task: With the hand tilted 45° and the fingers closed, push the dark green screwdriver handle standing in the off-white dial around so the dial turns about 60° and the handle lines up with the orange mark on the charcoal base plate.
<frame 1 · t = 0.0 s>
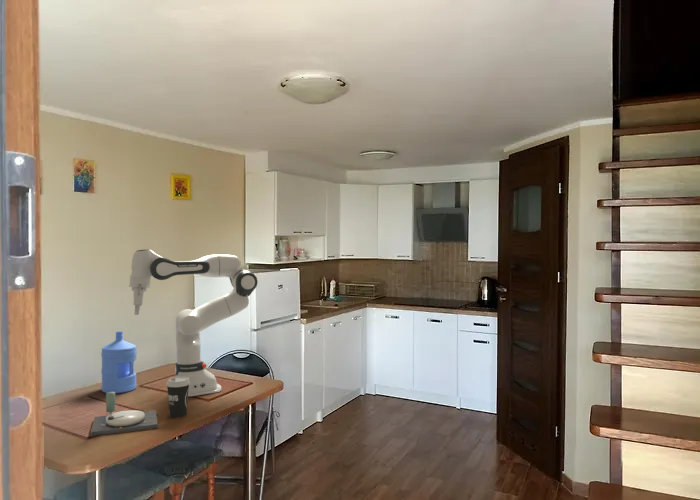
hand: (136, 313, 238), 39 cm above the table, tool pointing down, fingers open, 8 cm apart
coffee cup: (178, 415, 213), on the table
water jug: (119, 389, 251), on the table
dial: (125, 405, 202), point 8 cm above the table, hinge at 0.0°
dial base plate: (125, 424, 202), on the table
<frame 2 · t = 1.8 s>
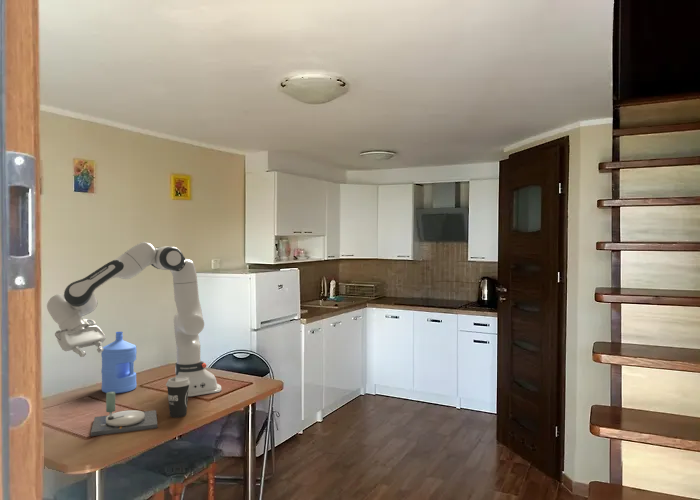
hand: (92, 353, 210), 26 cm above the table, tool tilted 45°, fingers open, 8 cm apart
nothing on the table moved.
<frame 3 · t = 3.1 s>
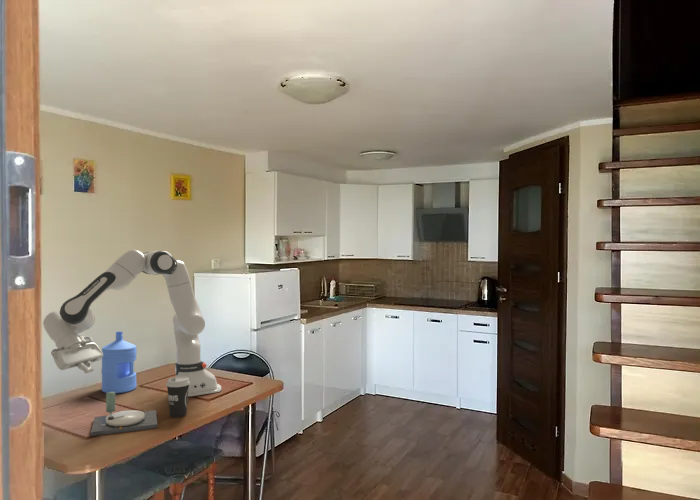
hand: (89, 371, 206), 20 cm above the table, tool tilted 45°, fingers closed
nothing on the table moved.
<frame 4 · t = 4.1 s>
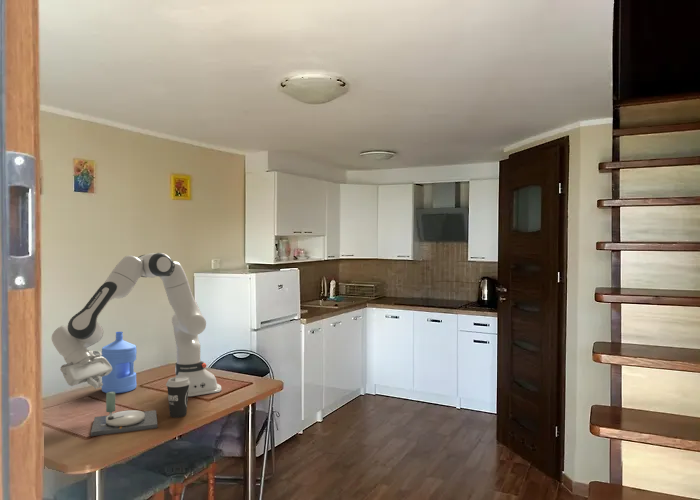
hand: (99, 386, 205), 14 cm above the table, tool tilted 45°, fingers closed
nothing on the table moved.
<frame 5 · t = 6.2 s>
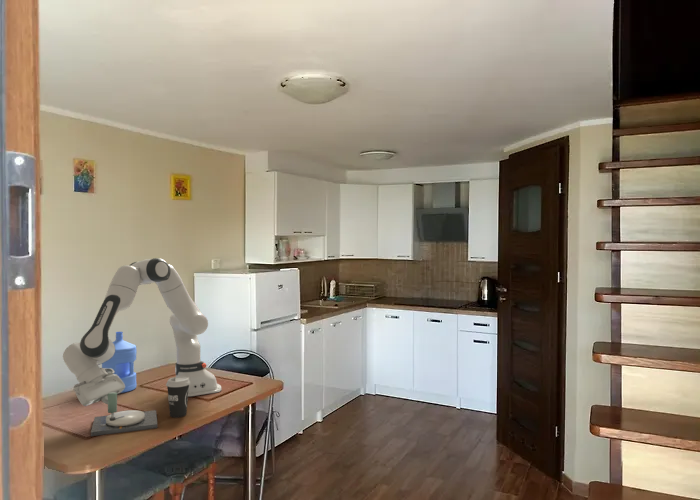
hand: (113, 405, 200), 8 cm above the table, tool tilted 45°, fingers closed, pressing on dial
dial: (125, 405, 202), point 8 cm above the table, hinge at 14.7°, touching gripper
everything else where it was.
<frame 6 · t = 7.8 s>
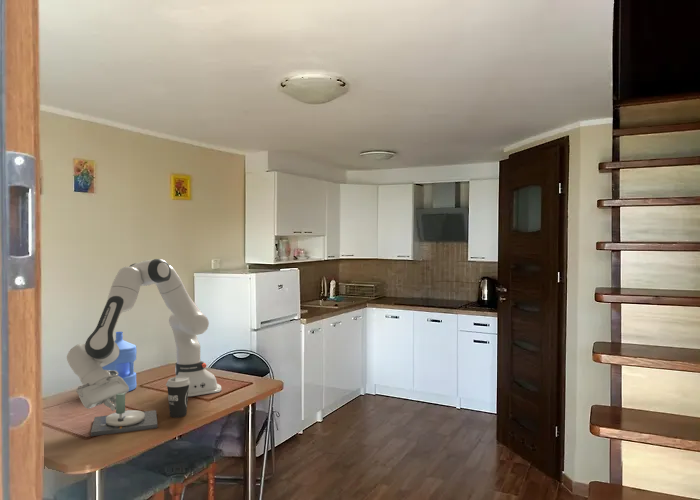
hand: (116, 408, 197), 8 cm above the table, tool tilted 45°, fingers closed, pressing on dial
dial: (125, 405, 202), point 8 cm above the table, hinge at 53.3°, touching gripper
everything else where it was.
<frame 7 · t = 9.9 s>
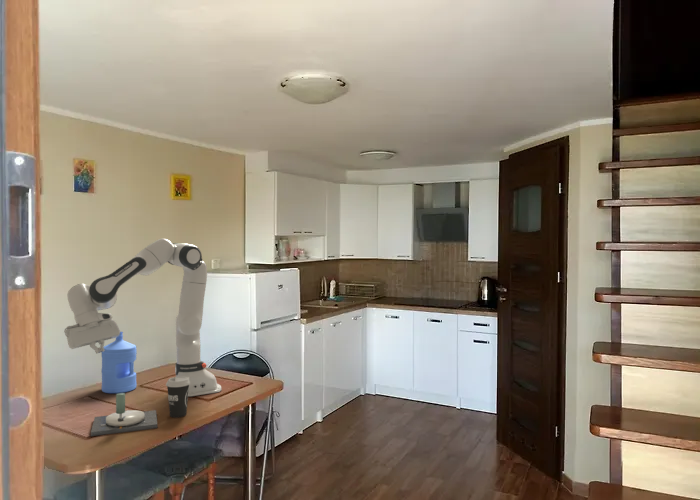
hand: (100, 352, 209), 27 cm above the table, tool tilted 30°, fingers closed
dial: (125, 405, 202), point 8 cm above the table, hinge at 53.3°
everything else where it was.
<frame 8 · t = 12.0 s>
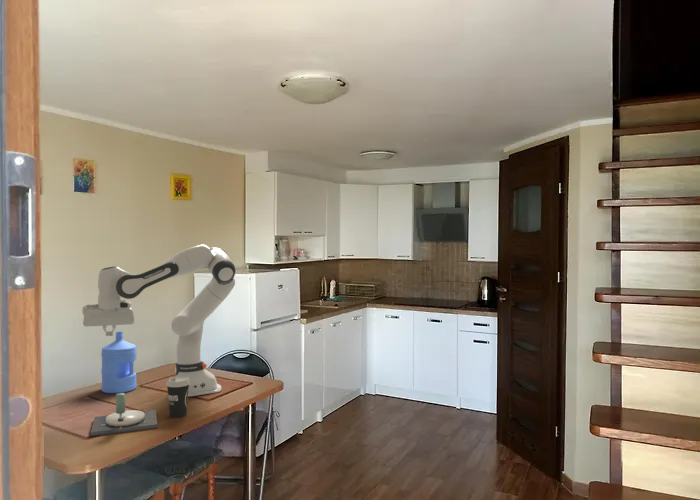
hand: (109, 335, 223), 31 cm above the table, tool pointing down, fingers closed
nothing on the table moved.
at the end: dial at +53° (first picture: +0°); coffee cup moved 0.2 cm from its start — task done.
